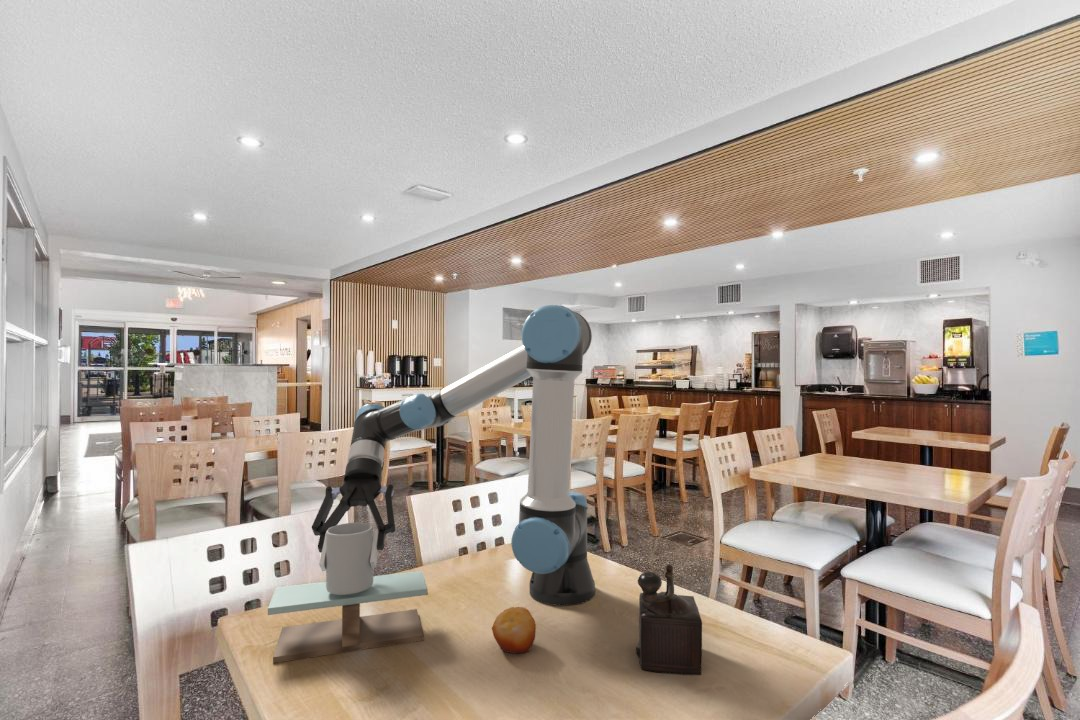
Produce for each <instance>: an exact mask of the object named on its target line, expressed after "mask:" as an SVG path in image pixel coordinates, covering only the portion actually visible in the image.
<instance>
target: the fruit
mask: <svg viewBox="0 0 1080 720" xmlns="http://www.w3.org/2000/svg"><path fill="white" fill-rule="evenodd" d="M491 626H492V627H491V630H492V634H493V637H494V639H495V641H496V642H497V645H498V646H499V648H500V650H502V651H503V652H506V653H513V654H514V653H516V654H523V653H524V654H525V653H527V652H529V651H530V650H531V649H532V646H533V645H534V642H535V639H536V633H537V632H536V631H537V624H536V621H535V620H534V617H533V615H532V613H531V612H530V610H529V609H528V608H526V607H522V606H521V607H520V606H515V607H509V608H506V609H503V611H502V612H500V613H499V614H498V615H497V616H496V617H495V620H494V621H493V624H492V625H491Z"/></svg>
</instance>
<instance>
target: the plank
mask: <svg viewBox="0 0 1080 720" xmlns="http://www.w3.org/2000/svg"><path fill="white" fill-rule="evenodd" d="M428 590H429V589H428V586H427V583H426V577H425V575H424V572H423V570H416V571H408V572H400V573H391V574H390V573H389V574H382V575H381V574H380V575H373V584H372V586H371V587H370V588H368V589H367V590H364V591H362V592H359V593H355V594H348V595H336V594H331V593H329V592H328V591H327V589H326V581H318V582H311V583H303V584H294V585H284V586H283V585H282V586H276V587H275V589H274V591H273V595H272V596H271V600H270V602H269V604H268V607H267V615H268V616H271V615H272V616H273V615H281V614H286V613H295V612H303V611H304V612H305V611H311V610H319V609H325V608H327V609H328V608H337V607H342V606H344V605H352V604H367V603H374V602H383V601H391V600H398V599H405V598H414V597H421V596H428V593H429V592H428Z"/></svg>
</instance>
